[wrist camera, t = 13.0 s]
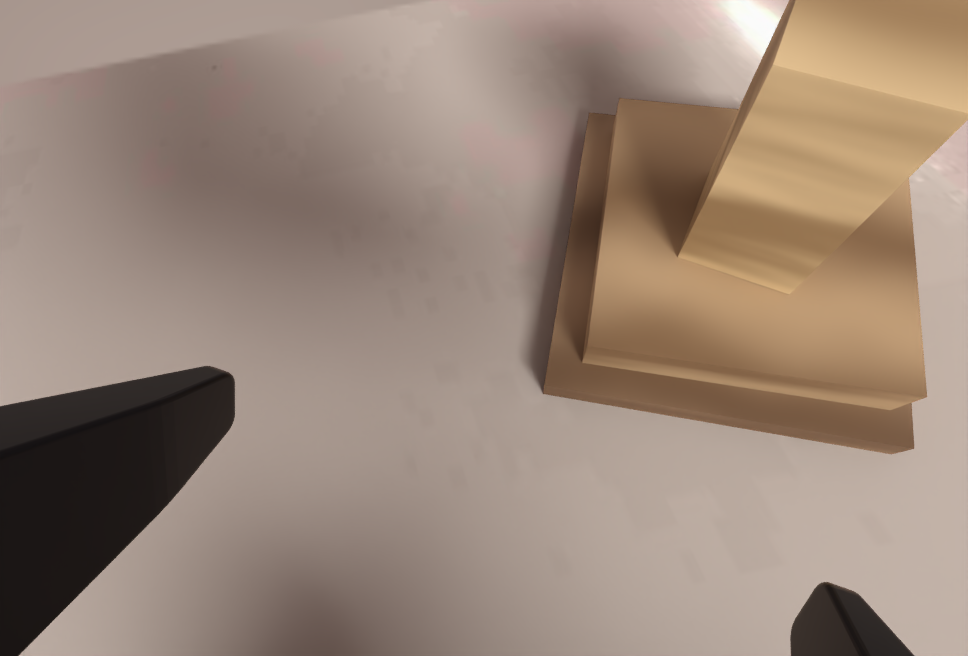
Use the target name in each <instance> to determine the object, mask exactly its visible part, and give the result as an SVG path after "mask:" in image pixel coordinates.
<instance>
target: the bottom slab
mask: <svg viewBox="0 0 968 656" xmlns="http://www.w3.org/2000/svg"><path fill="white" fill-rule="evenodd" d="M615 117H616V115H608V114H598V113H589V116H588V122H587V129H586V135H585V141H584V147H583V153H582V159H581V165H580V171H579V177H578V183H577V189H576V195H575V201H574V207H573V214H572V220H571V226H570V232H569V238H568V244H567V250H566V256H565V262H564V268H563V274H562V280H561V286H560V293H559V299H558V305H557V311H556V317H555V323H554V329H553V335H552V341H551V347H550V353H549V359H548V365H547V371H546V378H545V384H544V391H543V394H548V395H553V396H559V397H565V398H571V399H576V400H582V401H588V402H594V403H599V404H605V405H611V406H617V407H622V408H628V409H634V410H640V411H645V412H651V413H657V414H663V415H668V416H674V417H680V418H686V419H692V420H697V421H703V422H709V423H715V424H720V425H726V426H732V427H738V428H743V429H749V430H755V431H761V432H766V433H772V434H778V435H784V436H789V437H795V438H801V439H807V440H812V441H818V442H824V443H830V444H835V445H841V446H847V447H853V448H859V449H864V450H870V451H876V452H882V453H887V454H894V453H898V452H903V451H907V450H911V449H914V436H913V420H912V404H911V403H909V404H906V405H904V406H901V407H898V408H895V409H893V410H885V409H879V408H872V407H866V406H859V405H853V404H846V403H840V402H834V401H827V400H821V399H814V398H808V397H801V396H795V395H788V394H782V393H775V392H769V391H762V390H756V389H749V388H743V387H736V386H730V385H723V384H717V383H710V382H704V381H697V380H691V379H684V378H678V377H671V376H665V375H658V374H652V373H645V372H639V371H632V370H626V369H619V368H613V367H606V366H600V365H593V364H587V363H582V360H583V352H584V345H585V337H586V330H587V322H588V314H589V307H590V299H591V291H592V284H593V276H594V268H595V261H596V253H597V246H598V238H599V230H600V223H601V215H602V207H603V200H604V192H605V185H606V177H607V169H608V162H609V154H610V146H611V139H612V131H613V126H614V122H615Z"/></svg>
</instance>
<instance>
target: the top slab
mask: <svg viewBox="0 0 968 656" xmlns="http://www.w3.org/2000/svg"><path fill="white" fill-rule="evenodd" d="M737 112H738V109H729V108H718V107H708V106H697V105H686V104H676V103H665V102H655V101H644V100H634V99H623V98H619V103H618V107H617V112H616V117H615V122H614V126H613V131H612V139H611V146H610V154H609V162H608V169H607V177H606V185H605V192H604V200H603V207H602V215H601V223H600V230H599V238H598V246H597V253H596V261H595V268H594V276H593V284H592V291H591V299H590V307H589V314H588V322H587V330H586V337H585V345H584V352H583V360H582V363H587V364H593V365H600V366H606V367H613V368H619V369H626V370H632V371H639V372H645V373H652V374H658V375H665V376H671V377H678V378H684V379H691V380H697V381H704V382H710V383H717V384H723V385H730V386H736V387H743V388H749V389H756V390H762V391H769V392H775V393H782V394H788V395H795V396H801V397H808V398H814V399H821V400H827V401H834V402H840V403H846V404H853V405H859V406H866V407H872V408H879V409H885V410H893V409H895V408H898V407H901V406H904V405H906V404H909V403H912V402H915V401H917V400H920V399H923V398H925V397H927V390H926V378H925V366H924V354H923V342H922V330H921V318H920V306H919V294H918V282H917V270H916V258H915V246H914V234H913V222H912V210H911V198H910V186H909V178H908V179H907V180H906V181H905V182H904V183H903V184H902V185H901V186H900V187H899V188H898V189H897V190H896V191H895V192H894V193H893V194H892V195H891V196H890V197H889V198H888V199H886V200H885V201H884V202H883V203H882V204H881V205H880V206H879V207H878V208H877V209H876V210H875V211H874V212H873V213H872V214H871V215H870V216H869V217H868V218H867V219H866V220H865V221H864V222H863V223H862V224H861V225H860V226H859V227H858V228H857V229H856V230H855V231H854V232H853V233H852V234H851V235H850V236H849V237H848V238H847V239H846V240H845V241H844V242H843V243H842V244H841V245H840V246H839V247H838V248H837V249H836V250H835V251H833V252H832V253H831V254H830V255H829V256H828V257H827V258H826V259H825V260H824V261H823V262H822V263H821V264H820V265H819V266H818V267H817V268H816V269H815V270H814V271H813V272H812V273H811V274H810V275H809V276H808V277H807V278H806V279H805V280H804V281H803V282H802V283H801V284H800V285H799V286H798V287H797V288H796V289H795V290H794V291H793V292H792V293H791V294H790V295H789V294H786V293H783V292H780V291H777V290H774V289H771V288H768V287H765V286H762V285H759V284H756V283H753V282H750V281H747V280H744V279H741V278H738V277H735V276H732V275H729V274H726V273H723V272H720V271H717V270H714V269H711V268H708V267H705V266H702V265H699V264H696V263H693V262H690V261H687V260H684V259H681V258H678V255H679V252H680V250H681V247H682V244H683V241H684V239H685V236H686V233H687V231H688V228H689V225H690V223H691V220H692V217H693V215H694V212H695V209H696V206H697V204H698V201H699V198H700V196H701V193H702V190H703V188H704V185H705V182H706V180H707V177H708V174H709V172H710V169H711V167H712V165H713V163H714V161H715V159H716V157H717V154H718V152H719V150H720V148H721V146H722V144H723V142H724V139H725V137H726V135H727V133H728V131H729V129H730V127H731V124H732V122H733V120H734V118H735V116H736V114H737Z"/></svg>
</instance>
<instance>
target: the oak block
mask: <svg viewBox="0 0 968 656" xmlns="http://www.w3.org/2000/svg"><path fill="white" fill-rule="evenodd" d="M967 120H968V0H789V2H788V4H787V6H786V9H785V11H784V13H783V15H782V17H781V19H780V21H779V24H778V26H777V28H776V30H775V32H774V34H773V37H772V39H771V41H770V43H769V45H768V47H767V49H766V52H765V54H764V56H763V58H762V60H761V62H760V64H759V67H758V69H757V71H756V73H755V75H754V77H753V79H752V82H751V84H750V86H749V88H748V90H747V92H746V94H745V97H744V99H743V101H742V103H741V105H740V107H739V109H738V112H737V114H736V116H735V118H734V120H733V122H732V124H731V127H730V129H729V131H728V133H727V135H726V137H725V139H724V142H723V144H722V146H721V148H720V150H719V152H718V154H717V157H716V159H715V161H714V163H713V165H712V167H711V169H710V172H709V174H708V177H707V180H706V182H705V185H704V188H703V190H702V193H701V196H700V198H699V201H698V204H697V206H696V209H695V212H694V215H693V217H692V220H691V223H690V225H689V228H688V231H687V233H686V236H685V239H684V241H683V244H682V247H681V250H680V252H679V255H678V258H681V259H684V260H687V261H690V262H693V263H696V264H699V265H702V266H705V267H708V268H711V269H714V270H717V271H720V272H723V273H726V274H729V275H732V276H735V277H738V278H741V279H744V280H747V281H750V282H753V283H756V284H759V285H762V286H765V287H768V288H771V289H774V290H777V291H780V292H783V293H786V294H789V295H790V294H791V293H792V292H793V291H794V290H795V289H796V288H797V287H798V286H799V285H800V284H801V283H802V282H803V281H804V280H805V279H806V278H807V277H808V276H809V275H810V274H811V273H812V272H813V271H814V270H815V269H816V268H817V267H818V266H819V265H820V264H821V263H822V262H823V261H824V260H825V259H826V258H827V257H828V256H829V255H830V254H831V253H832V252H833V251H835V250H836V249H837V248H838V247H839V246H840V245H841V244H842V243H843V242H844V241H845V240H846V239H847V238H848V237H849V236H850V235H851V234H852V233H853V232H854V231H855V230H856V229H857V228H858V227H859V226H860V225H861V224H862V223H863V222H864V221H865V220H866V219H867V218H868V217H869V216H870V215H871V214H872V213H873V212H874V211H875V210H876V209H877V208H878V207H879V206H880V205H881V204H882V203H883V202H884V201H885V200H886V199H888V198H889V197H890V196H891V195H892V194H893V193H894V192H895V191H896V190H897V189H898V188H899V187H900V186H901V185H902V184H903V183H904V182H905V181H906V180H907V179H908V178H909V177H910V176H911V175H912V174H913V173H914V172H915V171H916V170H917V169H918V168H919V167H920V166H921V165H922V164H923V163H924V162H925V161H926V160H927V159H928V158H929V157H930V156H931V155H932V154H933V153H934V152H935V151H936V150H937V149H938V148H939V147H940V146H942V145H943V144H944V143H945V142H946V141H947V140H948V139H949V138H950V137H951V136H952V135H953V134H954V133H955V132H956V131H957V130H958V129H959V128H960V127H961V126H962V125H963V124H964V123H965V122H966V121H967Z"/></svg>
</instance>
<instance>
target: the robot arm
mask: <svg viewBox="0 0 968 656" xmlns="http://www.w3.org/2000/svg"><path fill="white" fill-rule="evenodd" d="M234 417H235V381H234V378H233V376H232V375H231V374H230V373H229V372H226V371H223V370H221V369H218V368H215V367H211V366H204V367H199V368H193V369H188V370H183V371H178V372H173V373H168V374H163V375H158V376H153V377H147V378H142V379H137V380H132V381H127V382H122V383H117V384H112V385H107V386H101V387H96V388H91V389H86V390H81V391H76V392H71V393H66V394H61V395H55V396H50V397H45V398H40V399H35V400H30V401H25V402H20V403H15V404H10V405H4V406H0V656H19V655H20V654H21V653H22V652H23V651H24V650H25V649H26V648H27V647H28V646H29V645H30V644H31V643H32V642H33V641H34V640H35V639H36V637H37V636H38V635H39V634H40V633H41V632H42V631H43V630H44V629H45V628H46V627H47V626H48V625H49V624H50V623H51V622H52V621H53V620H54V619H55V618H56V617H57V616H58V615H59V614H60V613H61V612H62V611H63V610H64V609H65V608H66V607H67V606H68V605H69V604H70V603H71V602H72V601H73V600H74V599H75V598H76V597H77V596H78V595H79V594H80V593H81V592H82V591H83V590H84V589H85V588H86V587H87V586H88V585H89V584H90V583H91V582H92V581H93V580H94V579H95V578H96V577H97V576H98V575H99V574H100V573H101V572H102V571H103V570H104V569H105V568H106V567H107V566H108V565H109V564H110V563H111V562H112V561H113V560H114V559H115V558H116V557H117V556H118V555H119V554H120V553H121V552H122V551H123V550H124V549H125V548H126V547H127V546H128V545H129V544H130V543H131V542H132V541H133V540H134V539H135V538H136V537H137V536H138V535H139V534H140V533H141V532H142V531H143V529H144V528H145V527H146V526H147V525H148V524H149V523H150V522H151V521H152V520H153V519H154V518H155V517H156V516H157V515H158V514H159V513H160V512H161V511H162V510H163V509H164V508H165V507H166V506H167V505H168V504H169V502H170V501H171V500H172V499H173V498H174V497H175V496H176V494H177V493H178V492H179V491H180V490H181V489H182V487H183V486H184V485H185V484H186V482H187V481H188V480H189V479H190V477H191V476H192V475H193V474H194V473H195V471H196V470H197V469H198V468H199V466H200V465H201V464H202V463H203V462H204V460H205V459H206V458H207V457H208V455H209V454H210V453H211V452H212V450H213V449H214V448H215V447H216V446H217V444H218V443H219V442H220V441H221V439H222V438H223V437H224V436H225V435H226V433H227V432H228V431H229V429H230V428H231V426H232V424H233V421H234ZM790 641H791V656H914V655H913V654H912V652H911V651H910V650H909V649H908V648H907V647H906V646H905V645H904V644H903V643H902V641H901V640H900V639H899V638H898V637H897V636H896V635H895V634H894V633H893V631H892V630H891V629H890V628H889V627H888V626H887V625H886V624H885V623H884V622H883V620H882V619H881V618H880V617H879V616H878V615H877V614H876V613H875V612H874V610H873V609H872V608H871V607H870V606H869V605H868V604H867V603H866V602H865V601H864V599H863V598H862V597H861V596H860V595H859V594H857V593H856V592H854V591H852V590H849V589H846V588H843V587H840V586H837V585H834V584H832V583H829V582H823V583H820V584H819V585H818V586H817V587H816V588H815V589H814V591H813V592H812V594H811V595H810V597H809V598H808V600H807V602H806V603H805V605H804V606H803V608H802V609H801V611H800V612H799V614H798V615H797V617H796V619H795V621H794V623H793V625H792V629H791V637H790Z"/></svg>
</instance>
